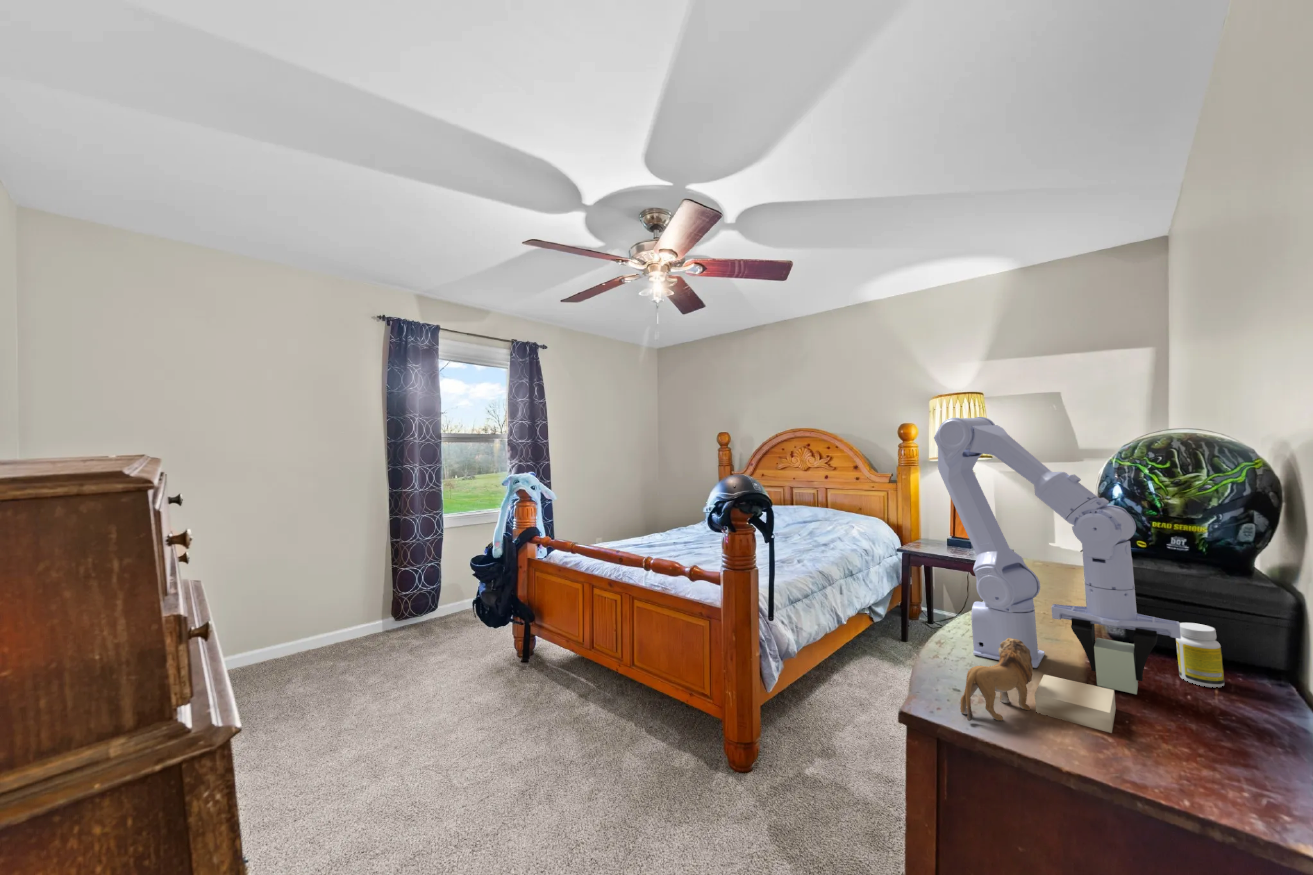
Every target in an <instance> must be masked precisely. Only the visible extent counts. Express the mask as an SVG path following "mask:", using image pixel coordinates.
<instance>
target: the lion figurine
mask: <svg viewBox="0 0 1313 875" xmlns="http://www.w3.org/2000/svg"><path fill="white" fill-rule="evenodd" d="M1000 646H1001V647H1000V648H998V650H999V656H1000V658H999V660H998V663H997V664H994V665H990V666H987V665H986V666H985V665H975V666H973V667H971V668H970V669H969V670H968V671H967V673H966V680H965V688H964V691H963V692H964V693H963V695H962V696H961V698H960V713H961V714H963V715H967V716H966V720H967V721H968V722H971V721H973V711H972V706H971V701H972V700H971V698H972V696H973V695H974V694H975V693H976V691H977V690H979V691H980V692H981V695H982V696H983V698H984V701H985V707H984V708H985V710H986V711H987V712H988V713H989V715H990V716H991V717H992V719H994V720H996V721H1003V720H1004V717H1003V715H1002V714H1001V713H999V712H996V710H995V706H994V705H995V699H996V697H997V696H996V695H997V694H996V693H997V692H998V693H999V701H1000V702H1001V703H1004V704H1008V703H1010V698H1009V695H1008V692H1010V691H1012V690H1014V689H1015V688H1016V691H1017V693H1018V706H1019V708H1021V709H1022V710H1026V711H1030V710H1031V706H1029V704H1027V696H1028V687H1027V685H1028V684H1029V683H1030V682H1032V681H1033V680H1032V679H1033V666H1032V663H1031V661H1032V658H1031V655H1030V650H1029V649H1028V648H1027V647H1026V646H1025V645H1024V644H1023V642H1022V641H1020V640H1018V639H1012V638H1007V639H1006V641H1002V643H1000Z"/></svg>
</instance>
